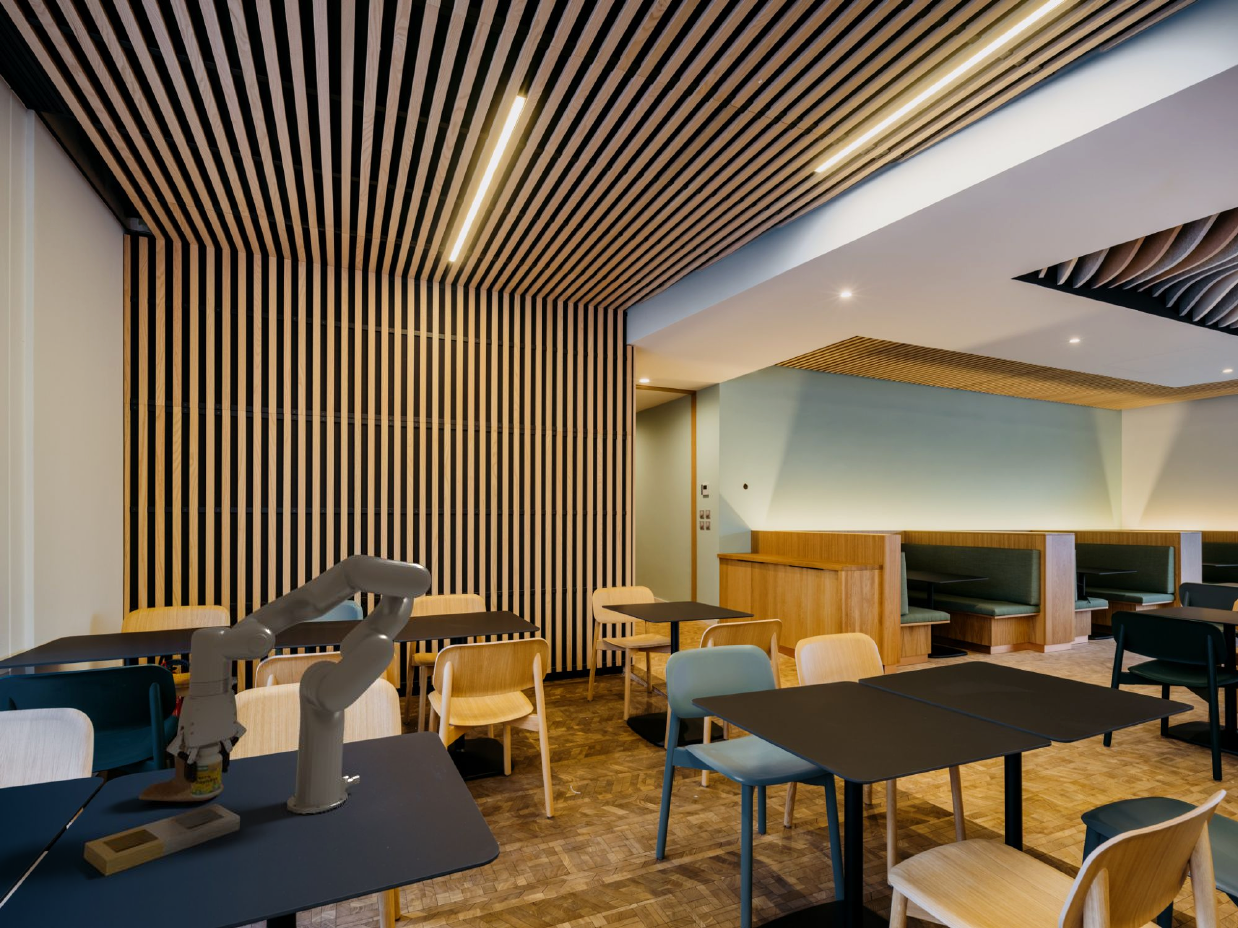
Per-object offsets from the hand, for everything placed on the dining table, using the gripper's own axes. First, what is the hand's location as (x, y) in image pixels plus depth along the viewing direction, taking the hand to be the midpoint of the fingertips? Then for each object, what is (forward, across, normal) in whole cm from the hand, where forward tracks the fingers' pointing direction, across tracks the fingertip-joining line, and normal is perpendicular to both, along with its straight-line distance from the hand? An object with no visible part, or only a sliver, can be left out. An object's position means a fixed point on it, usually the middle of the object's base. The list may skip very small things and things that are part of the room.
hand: (206, 775), depth 137 cm
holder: (+11, +7, 0) cm, 13 cm away
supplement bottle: (+4, 0, 0) cm, 4 cm away
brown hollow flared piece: (+11, -5, -21) cm, 25 cm away
